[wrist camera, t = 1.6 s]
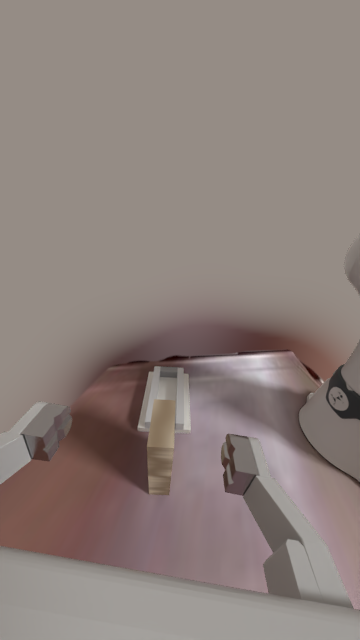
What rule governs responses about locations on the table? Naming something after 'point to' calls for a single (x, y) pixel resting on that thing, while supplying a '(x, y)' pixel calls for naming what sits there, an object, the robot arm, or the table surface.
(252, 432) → the table surface
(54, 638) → the robot arm
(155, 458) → the tan wooden block
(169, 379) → the floor track
